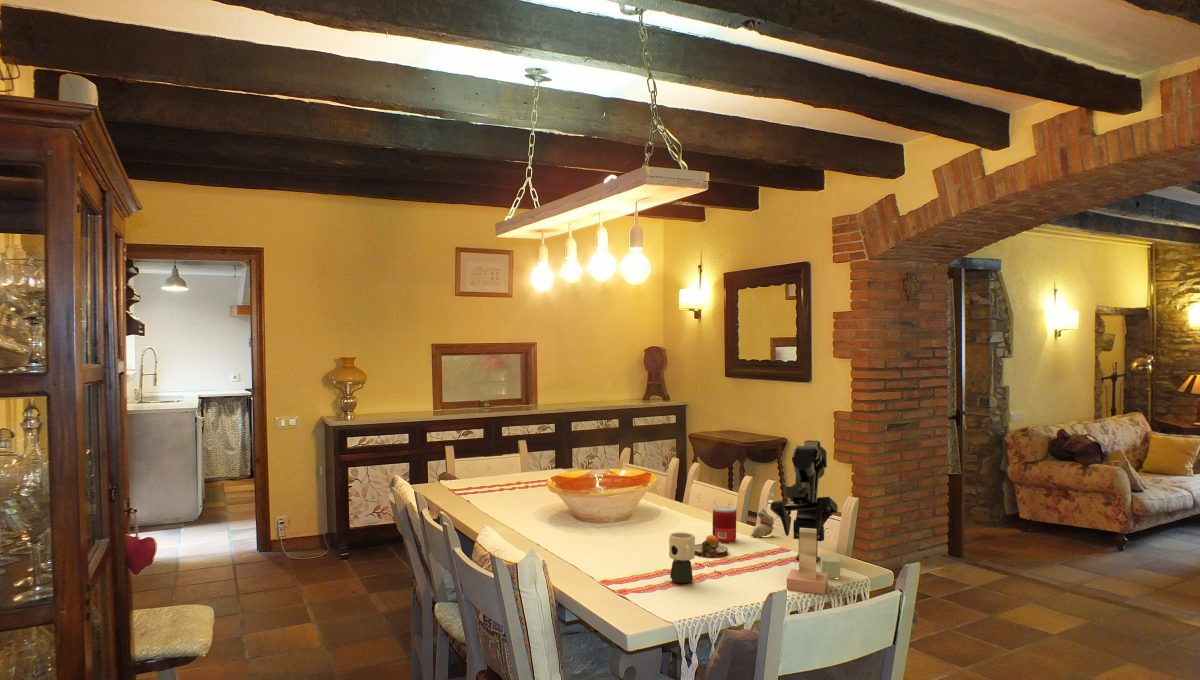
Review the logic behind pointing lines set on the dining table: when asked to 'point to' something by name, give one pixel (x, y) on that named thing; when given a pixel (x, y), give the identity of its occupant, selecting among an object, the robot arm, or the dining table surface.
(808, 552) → the beech post
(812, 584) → the terracotta tile
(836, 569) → the sage block
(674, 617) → the dining table surface
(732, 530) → the canned food
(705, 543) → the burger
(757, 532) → the grey plush toy
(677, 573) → the character mug
